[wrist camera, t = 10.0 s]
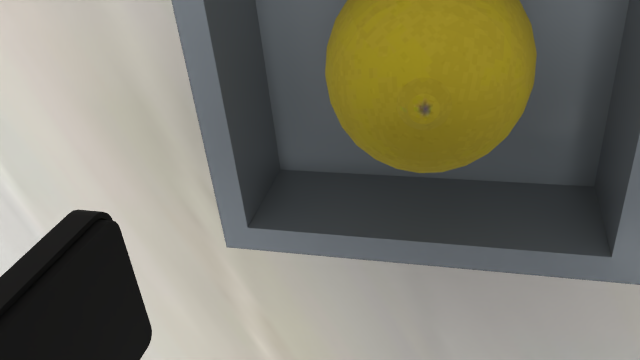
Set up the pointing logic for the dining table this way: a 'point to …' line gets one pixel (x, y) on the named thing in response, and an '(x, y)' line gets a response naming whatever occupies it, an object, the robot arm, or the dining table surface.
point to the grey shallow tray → (422, 188)
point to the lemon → (430, 78)
